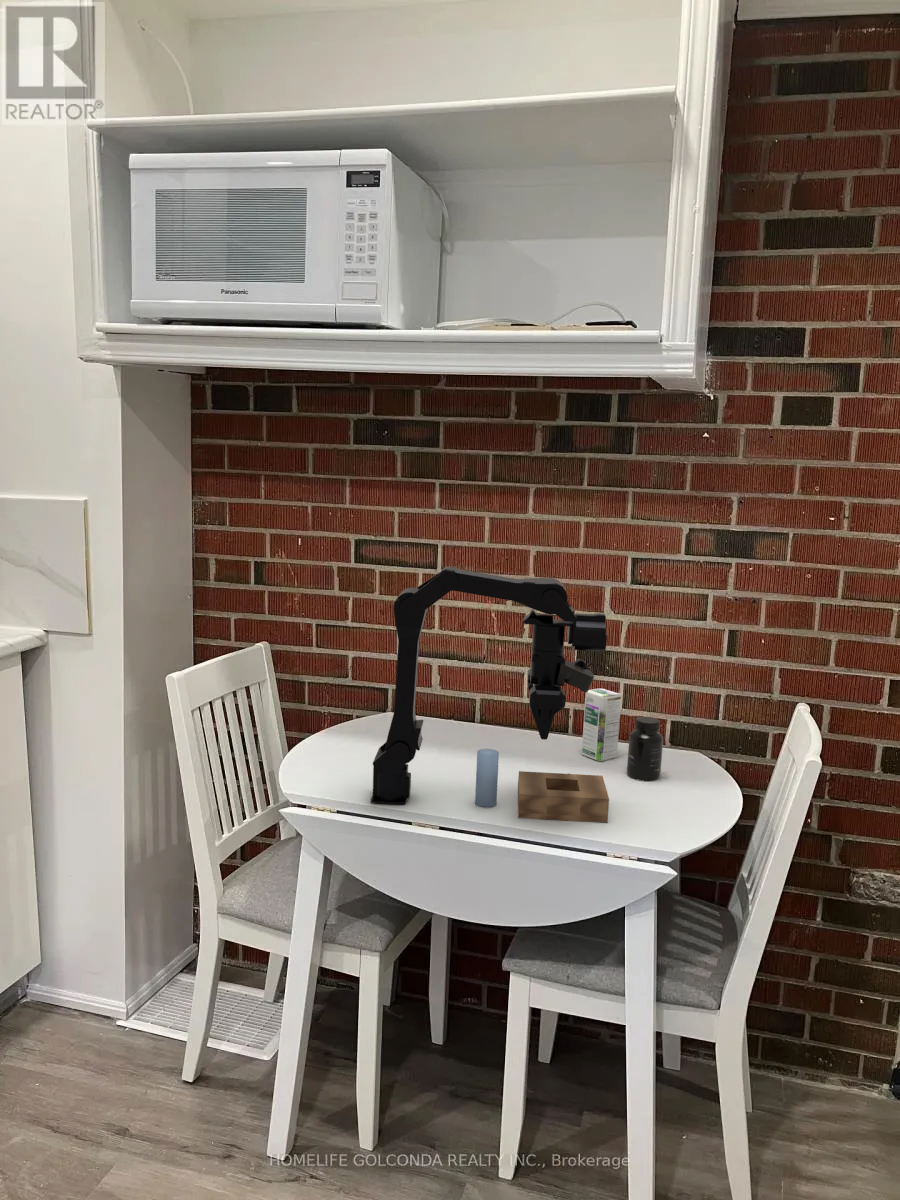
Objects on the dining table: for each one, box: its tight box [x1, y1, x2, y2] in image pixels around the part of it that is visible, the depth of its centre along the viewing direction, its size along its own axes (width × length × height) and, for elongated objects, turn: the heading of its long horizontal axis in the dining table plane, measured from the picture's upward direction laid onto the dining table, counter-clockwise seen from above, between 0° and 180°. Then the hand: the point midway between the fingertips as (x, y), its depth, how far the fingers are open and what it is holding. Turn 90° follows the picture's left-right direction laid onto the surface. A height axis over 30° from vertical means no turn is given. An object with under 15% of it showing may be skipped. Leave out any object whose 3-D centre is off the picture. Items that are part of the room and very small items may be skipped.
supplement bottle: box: [626, 716, 664, 782], centre depth 194 cm, size 7×7×12 cm
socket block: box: [517, 770, 610, 824], centre depth 176 cm, size 16×12×4 cm
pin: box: [474, 748, 500, 809], centre depth 177 cm, size 4×4×10 cm
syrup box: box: [581, 688, 622, 763], centre depth 205 cm, size 6×6×14 cm
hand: (543, 731), depth 174 cm, fingers open, 9 cm apart
